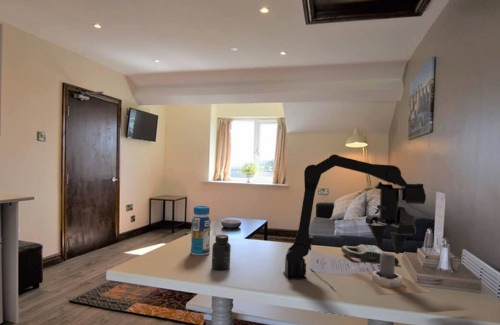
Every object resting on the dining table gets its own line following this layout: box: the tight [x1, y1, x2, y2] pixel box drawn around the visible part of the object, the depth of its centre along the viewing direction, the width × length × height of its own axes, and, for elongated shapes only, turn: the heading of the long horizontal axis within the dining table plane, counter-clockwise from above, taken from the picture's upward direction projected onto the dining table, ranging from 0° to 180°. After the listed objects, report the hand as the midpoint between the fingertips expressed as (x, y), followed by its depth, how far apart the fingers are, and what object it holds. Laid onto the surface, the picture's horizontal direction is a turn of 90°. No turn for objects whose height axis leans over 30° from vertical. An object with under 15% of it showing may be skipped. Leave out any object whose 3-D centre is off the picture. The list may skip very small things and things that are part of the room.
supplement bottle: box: [211, 234, 232, 272], centre depth 116 cm, size 7×7×12 cm
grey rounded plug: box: [379, 252, 396, 279], centre depth 103 cm, size 4×4×9 cm
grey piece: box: [340, 244, 400, 266], centre depth 131 cm, size 16×20×5 cm
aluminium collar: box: [371, 269, 403, 288], centre depth 103 cm, size 9×9×2 cm
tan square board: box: [348, 272, 431, 296], centre depth 103 cm, size 18×18×1 cm
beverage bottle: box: [190, 205, 212, 256], centre depth 134 cm, size 8×8×20 cm
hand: (388, 249), depth 103 cm, fingers open, 9 cm apart
